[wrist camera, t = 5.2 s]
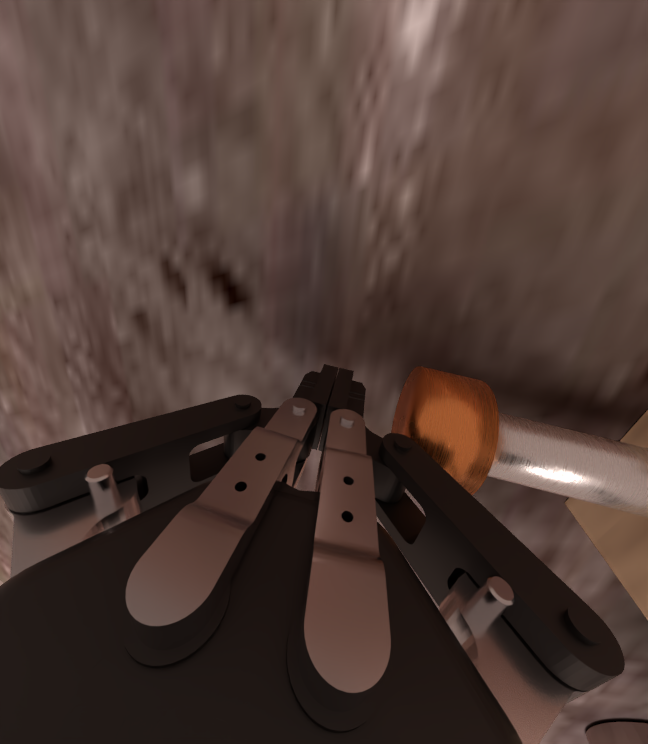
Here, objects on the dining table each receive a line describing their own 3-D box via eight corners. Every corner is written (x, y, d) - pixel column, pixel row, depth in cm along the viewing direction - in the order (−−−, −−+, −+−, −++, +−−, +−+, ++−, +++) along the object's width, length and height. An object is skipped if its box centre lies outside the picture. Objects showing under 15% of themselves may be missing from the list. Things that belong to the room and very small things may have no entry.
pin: (790, 434, 11) (1044, 553, 7) (696, 508, 13) (844, 634, 9) (416, 349, 12) (437, 406, 8) (387, 430, 15) (391, 508, 10)
